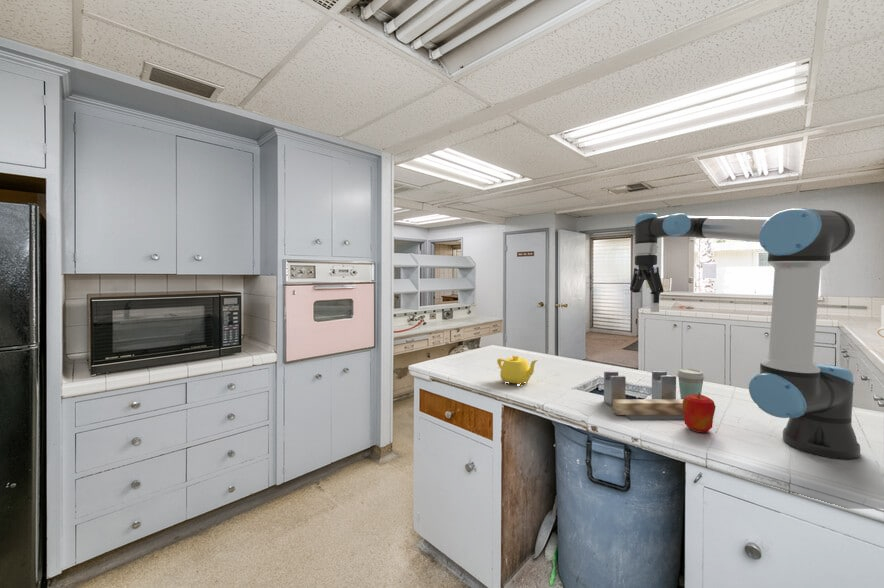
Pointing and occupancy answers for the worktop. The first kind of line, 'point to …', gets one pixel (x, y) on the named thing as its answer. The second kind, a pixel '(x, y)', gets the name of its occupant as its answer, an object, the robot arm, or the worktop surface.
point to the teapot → (516, 369)
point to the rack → (660, 386)
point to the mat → (655, 417)
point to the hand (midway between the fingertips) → (645, 310)
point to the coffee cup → (690, 382)
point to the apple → (698, 412)
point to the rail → (648, 406)
